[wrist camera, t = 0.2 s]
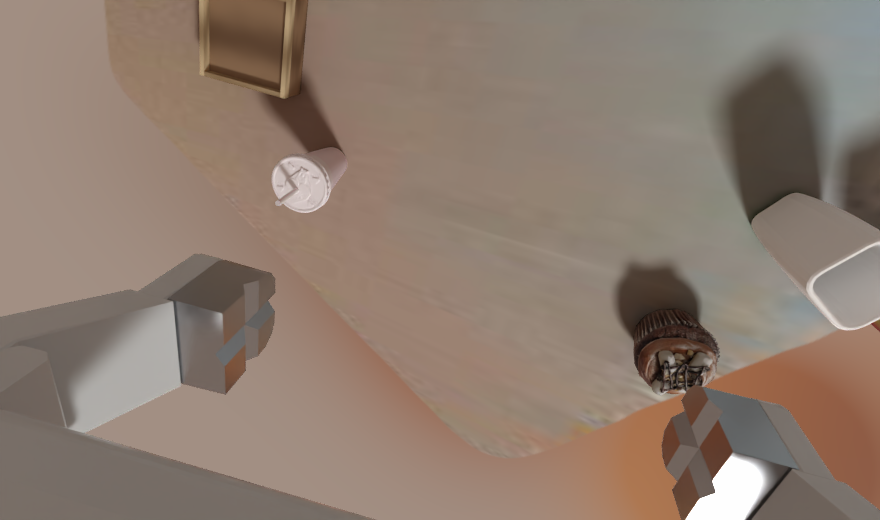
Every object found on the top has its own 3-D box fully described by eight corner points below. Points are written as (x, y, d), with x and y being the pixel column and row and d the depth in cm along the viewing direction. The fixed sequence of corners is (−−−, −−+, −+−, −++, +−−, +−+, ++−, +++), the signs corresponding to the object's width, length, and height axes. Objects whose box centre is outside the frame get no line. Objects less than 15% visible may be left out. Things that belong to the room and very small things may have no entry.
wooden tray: (221, -24, 51) (198, -28, 48) (308, -1, 51) (291, -2, 47) (220, 71, 56) (199, 74, 53) (300, 93, 56) (284, 98, 52)
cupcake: (629, 365, 64) (644, 420, 56) (625, 305, 61) (640, 353, 52) (706, 361, 62) (734, 417, 53) (707, 298, 58) (738, 347, 49)
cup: (836, 223, 52) (938, 292, 39) (770, 262, 55) (844, 337, 42) (799, 176, 50) (892, 230, 37) (733, 219, 53) (798, 282, 40)
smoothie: (302, 171, 60) (242, 209, 48) (318, 126, 57) (258, 154, 45) (347, 195, 60) (299, 239, 48) (365, 151, 57) (319, 187, 45)
